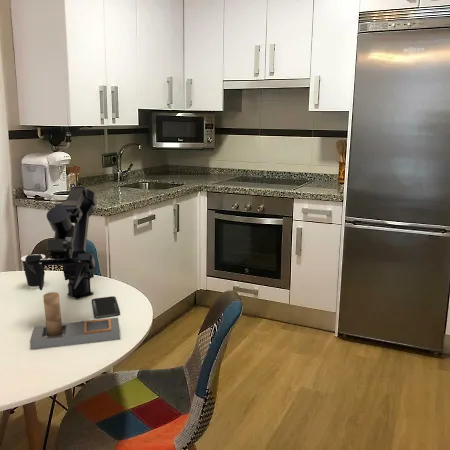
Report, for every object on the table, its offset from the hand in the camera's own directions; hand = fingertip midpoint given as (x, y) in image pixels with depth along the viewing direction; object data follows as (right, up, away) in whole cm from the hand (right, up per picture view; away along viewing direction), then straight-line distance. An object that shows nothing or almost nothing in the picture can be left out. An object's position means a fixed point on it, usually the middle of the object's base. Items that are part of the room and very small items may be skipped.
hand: (57, 289), depth 135 cm
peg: (+1, -13, -3) cm, 14 cm away
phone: (+9, -9, +18) cm, 22 cm away
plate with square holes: (+6, -13, -2) cm, 14 cm away
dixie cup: (-20, -4, +37) cm, 42 cm away
